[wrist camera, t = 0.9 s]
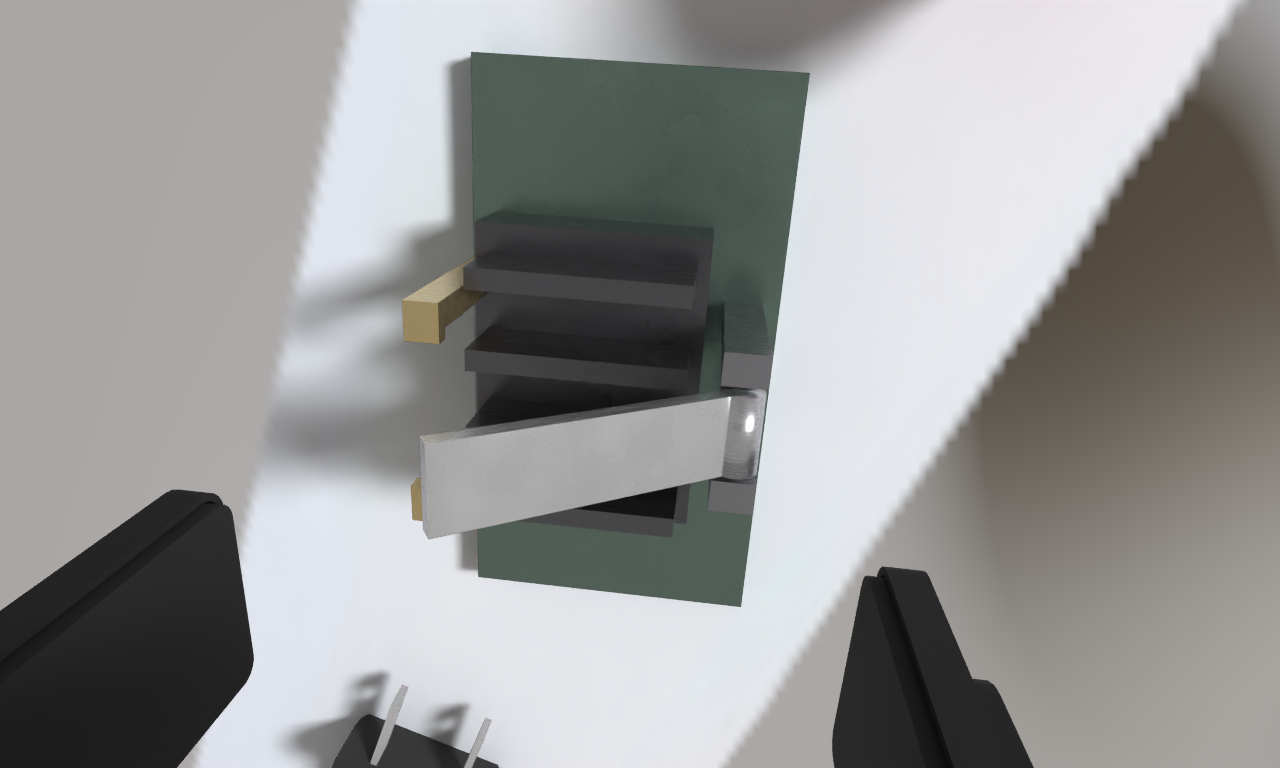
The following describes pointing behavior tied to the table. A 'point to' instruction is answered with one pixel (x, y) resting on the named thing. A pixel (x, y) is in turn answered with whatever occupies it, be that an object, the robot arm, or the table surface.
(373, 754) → the electrical plug
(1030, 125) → the table surface
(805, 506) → the table surface
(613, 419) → the retention strap
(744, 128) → the circuit board
